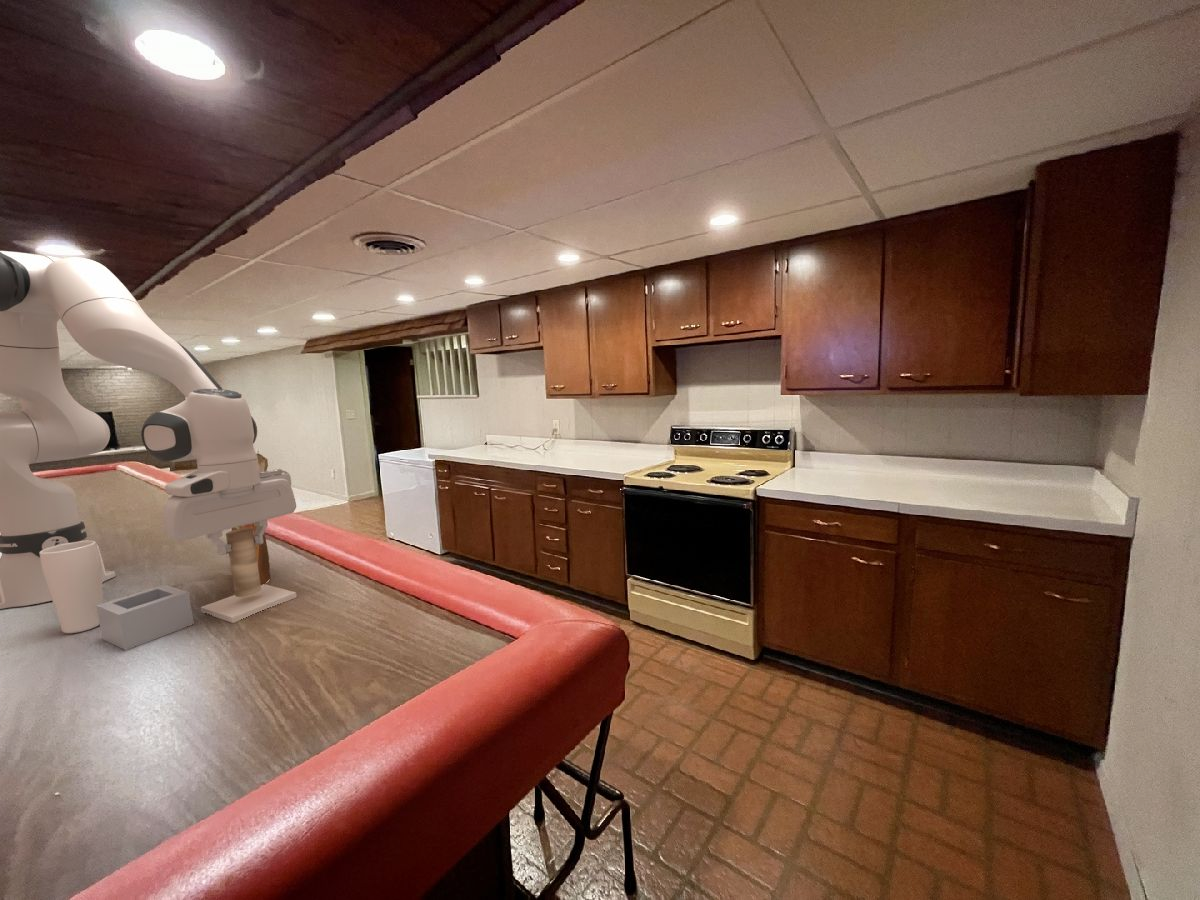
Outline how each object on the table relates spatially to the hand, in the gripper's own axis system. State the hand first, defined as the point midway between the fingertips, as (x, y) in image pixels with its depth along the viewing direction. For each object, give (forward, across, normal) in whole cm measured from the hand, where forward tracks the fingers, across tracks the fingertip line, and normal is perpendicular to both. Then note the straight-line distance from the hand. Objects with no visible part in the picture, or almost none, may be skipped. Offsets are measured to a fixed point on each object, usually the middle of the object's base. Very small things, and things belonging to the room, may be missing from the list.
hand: (241, 548), depth 89 cm
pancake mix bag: (+11, -9, -15) cm, 21 cm away
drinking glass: (+11, +17, -19) cm, 28 cm away
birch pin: (+9, 0, 0) cm, 9 cm away
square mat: (+11, 0, 0) cm, 11 cm away
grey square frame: (+11, +13, -5) cm, 18 cm away
